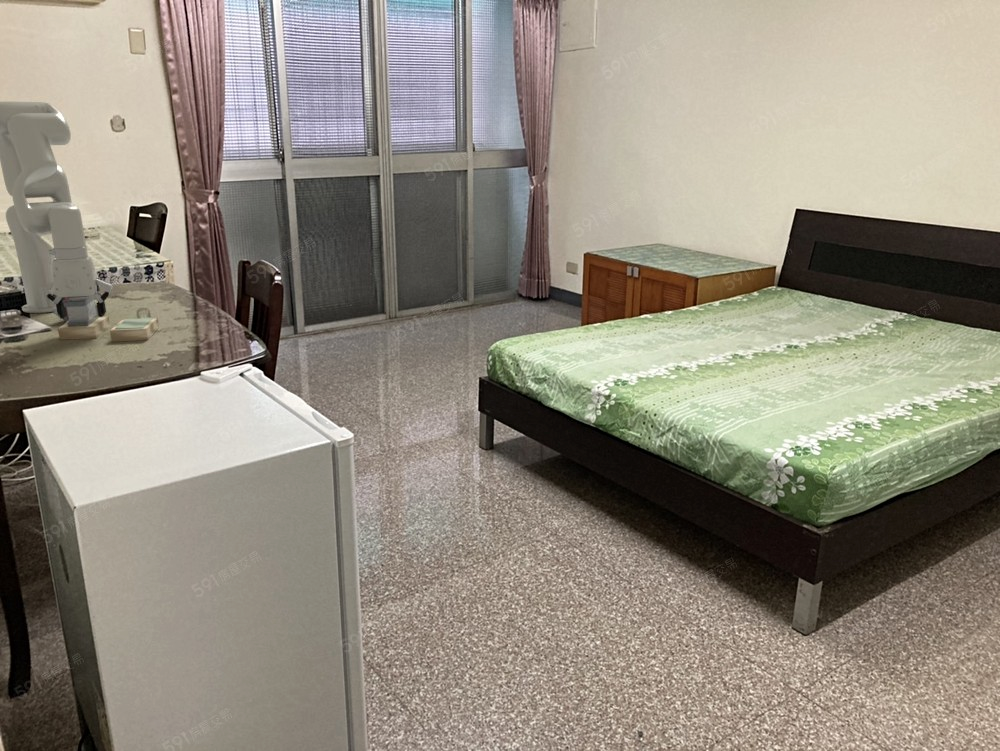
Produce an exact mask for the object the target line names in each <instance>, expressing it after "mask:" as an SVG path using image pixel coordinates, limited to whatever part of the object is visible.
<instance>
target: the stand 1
mask: <svg viewBox="0 0 1000 751" xmlns="http://www.w3.org/2000/svg"><path fill="white" fill-rule="evenodd" d="M68 322H69V321H68ZM110 327H111V324H110V318H109V315H104V316H103V317H99V318H98V319H97V320H95V321H94V322H93V323H92V324H90V325H89V326H78V327H68V324H67V322H65V323H64V324H63V325H61V326H59V327H58V328H57V333H58V338H59V340H63V341H64V340H83V339H84V340H85V339H97V338H98V337H100V335H102V334H103V333H104V332H105V331H106V330H108V329H109V328H110Z"/></svg>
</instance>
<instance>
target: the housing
mask: <svg viewBox="0 0 1000 751" xmlns="http://www.w3.org/2000/svg"><path fill="white" fill-rule="evenodd" d="M95 300H96V299H95V298H94V297H92V296H91V297H75V298H70V299H68V300H67V301H65V302H64V307H67V312H68V317H69V322H66V323H67V324H68V327H78V326H89V325H90V324H92V323H93V322H94V321H95V320H97V319H98V318H99V316H98V313H97V314H96V309H95V304H96V303H94V302H95Z"/></svg>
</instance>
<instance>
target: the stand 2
mask: <svg viewBox="0 0 1000 751" xmlns="http://www.w3.org/2000/svg"><path fill="white" fill-rule="evenodd" d="M159 329H160V324H159V318H158V317H142V318H141V317H140V318H139V317H137V318H135V317H133V318H122V319H121V320H120V321H119V322H118V323H117V324H115V325H114V326H113V327H112V328H111V329H109V333H110V339H111V342H127V341H130V342H132V341H134V342H135V341H148V340H150V339H151V337H153V335H154V334H155V333H156V332H157V331H158V330H159Z"/></svg>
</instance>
